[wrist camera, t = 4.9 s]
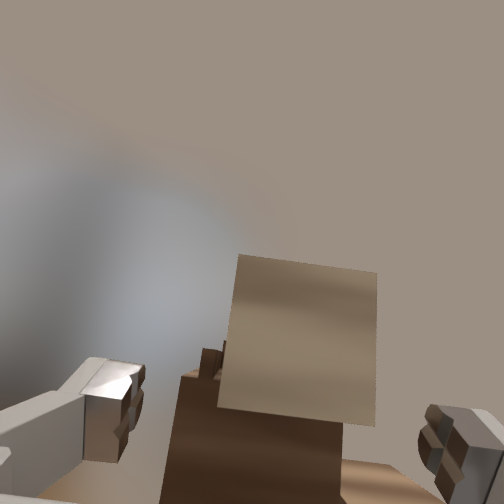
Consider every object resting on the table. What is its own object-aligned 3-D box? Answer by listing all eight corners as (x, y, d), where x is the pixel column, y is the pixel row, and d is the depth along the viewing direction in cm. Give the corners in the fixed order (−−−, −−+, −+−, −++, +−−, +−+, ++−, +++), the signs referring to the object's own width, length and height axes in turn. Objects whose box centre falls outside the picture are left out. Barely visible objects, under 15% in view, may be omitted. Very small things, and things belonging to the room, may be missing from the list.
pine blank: (374, 427, 8) (376, 272, 10) (217, 407, 8) (238, 254, 10) (270, 375, 29) (275, 328, 31) (225, 369, 29) (232, 322, 31)
